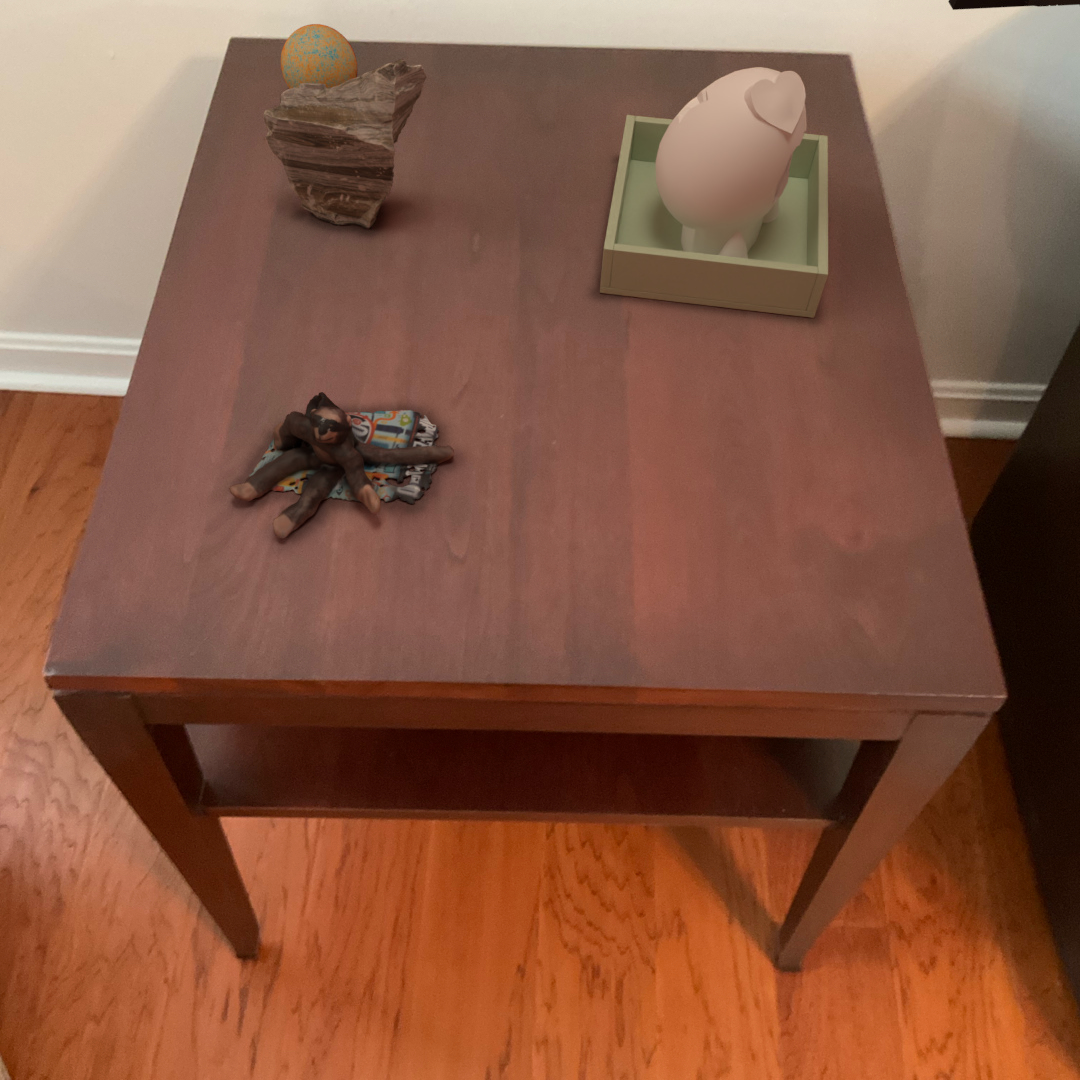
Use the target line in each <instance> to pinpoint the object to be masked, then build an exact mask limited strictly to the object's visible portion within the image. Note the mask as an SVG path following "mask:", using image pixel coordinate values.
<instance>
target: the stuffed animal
mask: <svg viewBox="0 0 1080 1080" xmlns="http://www.w3.org/2000/svg"><path fill="white" fill-rule="evenodd" d="M421 416H422V413H421V412H418V411H414V410H412V409H409V410H408V409H407V410H405V409H400V410H385V411H383V410H377V411H374V412H370V411H355V412H353V411H351V412H345V410H343V409H342V408H341V407H339V406H338V405H337V404H335V403H334V401H332V400H331V398H329V397H328V396H327V394H326V393H325V392H323V391H320V392H318V394H316V395H314V396H312V398H311V399H310V400H309V402H308V403H307V405H306V409H305V414H304V413H302V412H301V411H297V410H296V411H295V410H294V411H291V412H290V413H288V414H287V415H286V416H285V419H284V421H283V422H279V423H278V424H277V425H275V426H274V427H273V429H272V434H271V435H272V437H273V438H272V440H271V442H270V444H269V445H268V449H267V450H266V451H265V452H264V454H263V455H262V457H261V460H260V461H259V462H258V463H257V464H256V466H255V467H254V468H253V472H252V473H250V474H249V475H248V477H247V478H246V479H245V481H244V483H237V484H233V485H231V486H229V488H228V490H229V493H230V494H231V495H232V496H233V497H234V498H236V499H238V500H240V501H241V500H242V501H245V502H250V501H253V500H254V499H258V498H261V497H262V496H264V495H265V494H266V493H268V492H270V491H273V492H277V491H278V492H286V491H291V490H292V491H293V492H294V493H295V494H298V495H300V496H299V498H298V499H297V501H296V502H294V503H292V504H290V505H289V506H288V507H286V508H285V509H283V510H282V511H281V512H280V514H279V515H278V516H276V517H275V518H274V519H273V520H272V530H273V531H272V532H273V533H274V535H276V536H277V537H278V538H280V539H285V538H286V537H288V536H289V535H290V534H291V533H292V532H294V531H295V530H297V529H298V528H299V527H301V526H302V525H303V524H305V522H306V521H307V520H308V519H310V518H311V517H313V516H314V515H315V514H316V511H317V509H318V507H319V505H320V503H321V502H322V501H323V500H326V499H329V498H332V499H338V500H340V499H341V500H344V501H345V500H346V501H348V502H351V501H355V502H361V503H362V504H363V505H364V506H365V508H367V509H368V510H369V511H370V513H371V514H373V515H377V514H379V513H380V512H381V508H382V500H383V501H384V502H393V501H394V500H397V499H399V500H401V501H402V502H407V504H410V505H411V504H412V505H414V504H415V503H416V502H415V500H420V499H421V497H423V496H424V494H425V492H424V491H423V490H422V489H423V488H424V490H425V491H427V489H429V488H430V486H431V485H430V484H431V483H432V480H433V479H432V475H431V474H433V473H435V472H436V470H437V467H438V466H439V465H440V464H441V463H443V462H446V461H449V460H450V459H451V458H452V457H453V456H454V455H455V450H454V448H453V446H451V445H437V443H435V441H436V439H438V438H439V437H440V436H439V434H438V432H439V429H438V426H437V424H433V423H431V421H430V420H429V418H428V416H426V415H425V414H424V415H423V416H424V417H423V418H421ZM419 431H425V432H423V433H422V432H421V433H420V432H419ZM273 449H274V451H272V450H273ZM411 468H414V470H410V469H411ZM421 470H422V471H421ZM423 470H424V471H423ZM409 476H411V477H410V480H409V484H407V485H404V486H399V485H393V484H390V483H389V482H387V481H386V479H394V480H396V483H402V482H404V479H405V478H407V477H409ZM374 478H376V479H379V480H374ZM302 479H306V480H302ZM291 484H293V485H291Z"/></svg>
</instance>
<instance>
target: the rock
mask: <svg viewBox="0 0 1080 1080" xmlns="http://www.w3.org/2000/svg"><path fill="white" fill-rule="evenodd" d="M426 79H427V74H426V73H425V69H424V66H423V65H422V64H413V65H412V64H410V65H409V64H407V61H406V59H404V58H402V59H398V60H395V61H391V62H388V63H385V64H384V65H382V66H380V67H378V68H374V69H372V70H370V71H367V72H364V73H363V74H360V76H357V78H354V79H350V80H348V81H346V82H344V83H343V84H341V85H338V86H335V87H332V88H330V89H327V88H326V84H321V83H318V84H314V83H301V84H300V85H299V87H295V88H291V89H289V88H288V89H286V90H284V91H283V92H281V95H280V97H281V98H280V104H279V105H277V106H274V107H273V108H267V109H266V110H264V112H263V122H264V124H265V126H266V128H267V131H268V132H267V133H266V134H265V140H266V143H267V144H268V146H269V148H270V150H271V152H272V153H273V154H274V156H276V158H277V159H278V160H280V162H281V164H282V166H283V170H284V172H285V174H286V176H287V180H288V182H289V186H290V188H291V190H292V191H293V193H294V194H295V195H296V196H297V197H298V198H299V200H300V205H301V208H302V209H304V210H306V211H308V213H311V214H313V215H314V217H316V218H317V219H319V220H321V221H324V222H327V223H330V224H331V225H332V226H345V225H347V226H348V225H349V226H350V225H353V226H358V227H362V229H368V230H371V229H372V228H373V227H374V226H375V225H376V221H377V219H378V216H379V211H380V208H381V206H382V204H383V203H384V202H385V200H386V199H387V197H389V195H390V194H391V190H392V188H393V184H394V177H395V176H394V175H395V174H394V168H395V164H394V163H395V158H394V157H395V155H396V154H395V153H396V152H395V151H396V149H395V143H397V142H398V139H399V137H400V135H401V133H402V131H403V129H404V128H405V126H406V123H407V121H408V118H409V117H410V116H411V114H412V113H413V108H414V105H415V104H416V102H417V101H418V100H419V98H420V97H421V95H422V91H423V89H424V84H425V81H427V80H426Z"/></svg>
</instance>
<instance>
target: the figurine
mask: <svg viewBox="0 0 1080 1080" xmlns="http://www.w3.org/2000/svg"><path fill="white" fill-rule="evenodd" d="M806 97H807V93H806V88H805V85H804V82H803V80H802V77H801V75H800V74H798V73H797V72H796V71H794V70H785V71H782V72H781V71H780V70H776V69H772V68H768V67H763V66H758V67H755V66H754V67H749V68H743V69H739V70H734V71H733V72H730V73H728V74H726V75H724V76H722V77H719V78H717V79H715V80H714V81H713V82H712V83H710V84H708V85H707V86H706V87H705V88H702V90H700V91H699V92H698V94H697V96H695V97H694V98H692V99H691V100H690V101H688V102H687V103H686V104H685V105H684V106H683V107H682V109H680V111H679V112H677V114H676V116H675V117H674V118H673V119H672V120H673V121H672V122H671V123H670V125H669V126H668V128H667V130H666V132H665V134H664V136H663V138H662V140H661V142H660V145H659V149H658V152H657V157H656V183H657V187H658V191H659V193H660V196H661V198H662V201H663V203H664V205H665V206H666V208H667V210H668V211H669V212H670V213H671V215H672V216H673V217H674V218H675V219H676V220H678V221H679V222H680V223H681V224H683V227H682V235H681V244H682V248H683V251H686V252H694V253H703V254H712V255H721V256H729V257H738V258H747V259H748V254H747V252H748V251H749V250H750V249H751V247H752V246H753V245H754V243H755V242H756V240H757V237H758V235H759V232H760V230H761V226H762V223H769V222H772V221H774V220H775V219H777V217H778V216H779V201H778V199H779V198H780V196H781V195H782V194H783V191H784V189H785V187H786V185H787V183H788V178H789V168H790V164H791V160H792V156H793V152H794V150H795V149H796V147H797V146H799V145H800V143H801V141H802V139H803V136H804V133H807V128H808V125H807V123H808V122H807V109H806V108H807V107H806Z"/></svg>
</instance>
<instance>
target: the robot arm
mask: <svg viewBox="0 0 1080 1080" xmlns="http://www.w3.org/2000/svg"><path fill="white" fill-rule="evenodd" d="M948 4H949V5H950V7H951V9H952V10H953V11H959V10H976V9H997V8H998V9H999V8H1018V7H1037V8H1038V7H1049V6H1050V7H1056V6H1057V7H1058V6H1059V7H1060V6H1077V5H1079V6H1080V0H948Z"/></svg>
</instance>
